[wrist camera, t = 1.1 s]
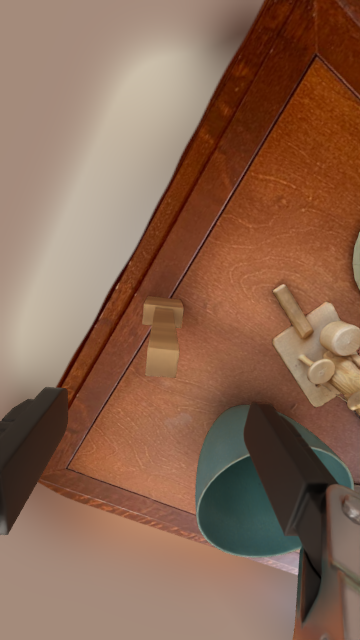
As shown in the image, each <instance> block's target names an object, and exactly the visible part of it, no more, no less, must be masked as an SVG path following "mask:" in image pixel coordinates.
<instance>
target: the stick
mask: <svg viewBox="0 0 360 640" xmlns="http://www.w3.org/2000/svg"><path fill="white" fill-rule="evenodd" d="M183 312H184V307H183V305H182V302H181V300H178V299H170V298H161V297H153V296H147V298H146V301H145V303H144V310H143V322H142V324H145V325H152V328H151V333H150V339H149V344H148V352H147V362H146V372H145V376H155V377H168V378H176V373H177V366H178V359H179V352H180V350H179V344H178V338H177V332H176V328H181V326H182V319H183Z"/></svg>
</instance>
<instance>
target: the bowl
mask: <svg viewBox="0 0 360 640" xmlns="http://www.w3.org/2000/svg"><path fill="white" fill-rule="evenodd" d="M353 271H354V278H355V281H356V283H357V286H358V288H359V290H360V232H359V235H358V238H357V241H356V244H355V247H354V255H353Z"/></svg>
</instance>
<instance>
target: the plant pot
mask: <svg viewBox="0 0 360 640" xmlns="http://www.w3.org/2000/svg"><path fill="white" fill-rule="evenodd" d="M249 408H250V405H238V406H234V407H232V408H229V409H228V410H226V411H225V412H223V413H222V414H221V415H220V416H219V417H218V418H217V419H216V421H215V422H214V424H213V425H212V426H211V428H210V430H209V431H208V433H207V435H206V438H205V440H204V443H203V446H202V449H201V452H200V457H199V461H198V467H197V475H196V492H195V501H196V517H197V524H198V527H199V530H200V531H201V533H202V535H203V536H204V538H205V539H206V540H207V541H208V542H209V543H210V544H212V545H213V546H214V547H216V548H217V549H219V550H221V551H223V552H226V553H229V554H232V555H236V556H241V557H250V558H261V557H272V556H278V555H283V554H287V553H290V552H294V551H296V550H299V549H301V547H302V543H301V541H300V539H299V537H298V536H284V533H283V531H282V529H281V526H280V524H279V522H278V519H277V517H276V515H275V512H274V510H273V508H272V506H271V503H270V501H269V499H268V496H267V494H266V492H265V489H264V487H263V485H262V482H261V480H260V478H259V475H258V473H257V471H256V468H255V466H254V464H253V462H252V459H251V457H250V455H249V452H248V450H247V448H246V445H245V442H244V436H243V432H244V427H245V423H246V419H247V415H248V412H249ZM277 413H278V414H279V415H280V416H283V417H284V418H286V419H287V420H288V421H289V422H290V423H292V424H293V425H294V426H295V428H296V429H297V430H298V432H299V433H300V434H301V435H302V438H304V439H305V441H306V442H307V443H308V445H309V447H311V448H312V450H313V451H314V452H315V454H316V455H317V456H318V458H319V459H320V460H321V461H322V463H323V464H324V465H325V467H326V468H327V469H328V471H329V472H330V473H331V474H332V476H333V477H334V478H335V480H336V481H337V482H338V484H339V485H343V486H346V487H348V488H350V489H352V490H354V482H353V477H352V475H351V472H350V471H349V469H348V468H347V466H346V465H345V464H344V463H343V462H342V460H341V459H340V458H339V457H338V456H337V455H336V454H335V453H334V452H333V451H332V450H331V449H330V448H329V447H328V446H327V445H326V444H325V443H324V442H322V441H321V440H320V439H319V438H318V437H317V436H315V435H314V434H313V433H312V432H310V431H309V430H308V429H306V428H305V427H304V426H302V425H301V424H299V423H297V422H296V421H294V420H293V419H291V418H289V417H287V416H285V415H284V414H282V413H279V412H277Z"/></svg>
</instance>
